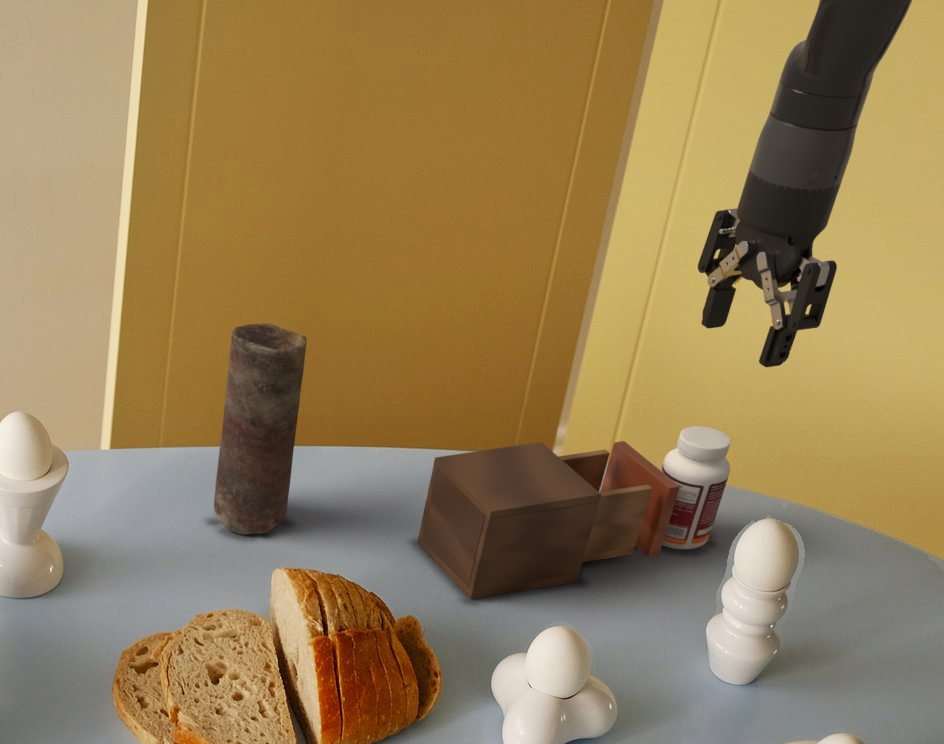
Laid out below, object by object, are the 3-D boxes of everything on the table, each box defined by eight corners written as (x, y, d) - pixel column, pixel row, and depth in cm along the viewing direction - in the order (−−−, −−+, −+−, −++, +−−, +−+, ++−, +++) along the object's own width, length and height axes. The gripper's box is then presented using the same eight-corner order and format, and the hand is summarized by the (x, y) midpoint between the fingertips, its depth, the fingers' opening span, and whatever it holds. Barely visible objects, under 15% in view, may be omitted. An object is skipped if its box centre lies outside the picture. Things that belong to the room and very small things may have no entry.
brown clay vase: (198, 506, 180) (219, 322, 168) (261, 493, 182) (286, 311, 170) (234, 542, 175) (258, 355, 162) (298, 529, 177) (327, 343, 164)
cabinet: (519, 526, 178) (541, 441, 172) (577, 581, 170) (601, 494, 164) (416, 543, 175) (434, 457, 169) (470, 599, 167) (491, 511, 161)
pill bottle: (692, 519, 179) (724, 421, 172) (717, 551, 174) (751, 451, 167) (633, 520, 179) (662, 422, 172) (656, 553, 174) (688, 453, 167)
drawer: (615, 507, 179) (634, 439, 174) (669, 554, 172) (691, 484, 167) (513, 524, 176) (530, 454, 171) (564, 572, 169) (583, 501, 164)
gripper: (889, 195, 147) (825, 373, 158) (780, 138, 158) (727, 309, 168) (814, 204, 146) (754, 384, 156) (709, 145, 156) (659, 318, 166)
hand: (740, 345), depth 162 cm, fingers open, 8 cm apart
